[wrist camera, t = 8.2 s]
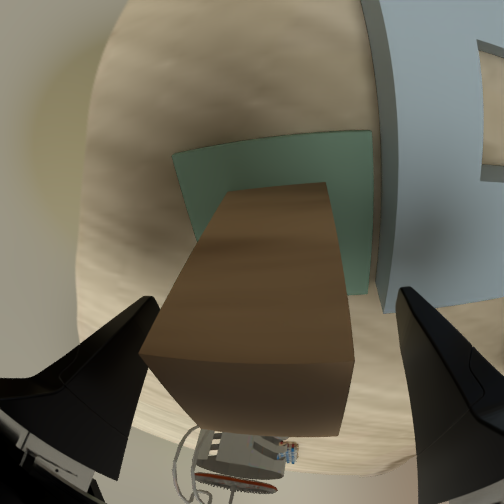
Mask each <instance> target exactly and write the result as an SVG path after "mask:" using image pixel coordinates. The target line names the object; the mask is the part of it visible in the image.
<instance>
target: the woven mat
mask: <svg viewBox="0 0 504 504" xmlns="http://www.w3.org/2000/svg"><path fill="white" fill-rule="evenodd" d="M287 443H288V446H287V451H286V452H285V453H279V454H278V455H277V460H278V459H280V458H282V457H286V462H287V463H289V462H292V464H294V462H297V461H296V460H297V458H298V456H297V455H298V453H296V452H297V451H298V448H297V447H299V446H298V445H297V444H296V442H283V441H281V442H280V443H279V446H283V445H284V444H287Z"/></svg>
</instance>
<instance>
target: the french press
mask: <svg viewBox="0 0 504 504" xmlns="http://www.w3.org/2000/svg"><path fill="white" fill-rule="evenodd" d="M197 428H199V426H198V425H197V426H195V427H193V428H191V429H189V431H188V432H187V433H186V434H185V435H184V437H183V438H182V440H181V442H180V443H179V445H178V449H177V452H176V455H175V458H174V461H173V469H172V473H173V481H174V486H175V488H176V491H177V493H178V495H179V496H180V497H181V499H182V500H183V501H184V502H185V503H186V504H189V503H191V502H192V501H193V498H194V496H195V497H196V499H197V501H198V502H199V503H200V504H204V503H203V502H202V500H201V499H200V498H199V495H198V493H204V494H207V495H209V501H208V504H211V503H212V494H211V493H209V492H208V491H204V490H197V489H196V483H195V480H197V481H198V482H200V483H205V484H207V483H208V485H209V484H211V486H212V485H214V486H215V485H216V486H217V487H218V486H220V488H221V487H224V488H227V490H228V488H230V491H231V496H230V500H229V504H232V500H233V496H234V492H236V490H237V491H239V490H240V491H241V490H242V491H244V492H246V491H249V492H250V493H251V492H252V493H254V492H255V493H257V492H258V493H259V494H270V493H271V494H273V493H275V492H277V491H278V490H277V488H276V487H274V486H272V485H270V484H267V483H263V482H259V481H255V480H249V479H261V480H270V479H280V478H282V477H283V476H284V470H285V464H286V457H282V458H280V459H278V460H277V455H278V454H279V453H285V452H286V451H287V446H288V443H287V444H284V445H283V446H279V443H280V442H281V441H283V440H286V439H288V438H289V437H275V436H258V435H246V434H236V433H227V432H222V433H215V434H214V432H215V431H212V430H206V429H201V431H200V434H199V438H198V441H197V445H196V448H195V452H194V456H193V459H192V466H191V478H192V486H193V493H192V494H191V497H190V500H189V501H187V500H186V499H185V497H183V495H182V494H181V492H180V489H179V486H178V484H177V474H176V462H177V459H178V456H179V453H180V450H181V448H182V446H183V444H184V441H185V439H186V438H187V436H188V435H189V434H190V433H191V432H192V431H193V430H195V429H197ZM213 439H221V440H220V444H212V445H211V443H212V440H213ZM210 450H218V453H217V455H215V456H208V455H209V451H210ZM196 465H197V466H199V467H201V468H204V469H207V470H210V471H213V472H216V473H220V474H224V475H220V474H209V473H202V472H198V473H194V471H195V467H196ZM226 475H229V476H226ZM231 476H234V477H231ZM237 477H240V478H237ZM236 478H237V479H236ZM242 478H248V479H243V480H241V479H242ZM247 480H248V481H247ZM253 481H254V482H253ZM214 486H213V487H214ZM242 491H241V492H242ZM249 492H248V493H249ZM260 492H261V493H260ZM266 492H267V493H266ZM268 492H269V493H268Z"/></svg>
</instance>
